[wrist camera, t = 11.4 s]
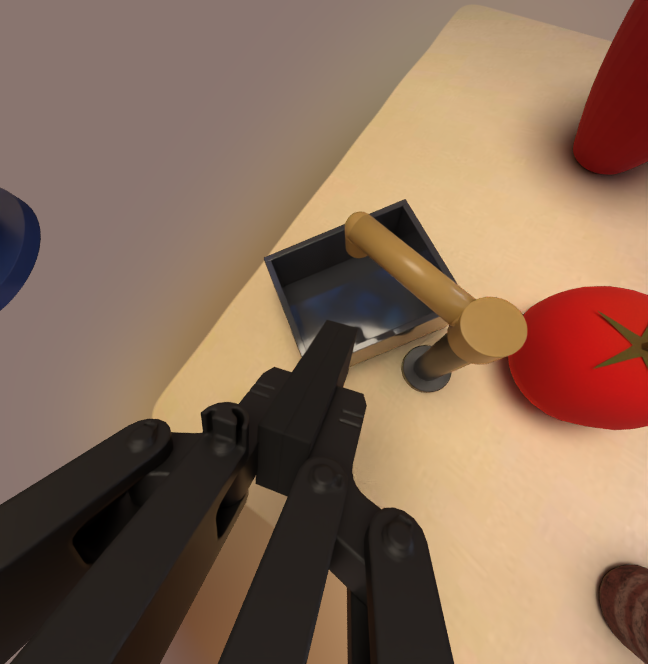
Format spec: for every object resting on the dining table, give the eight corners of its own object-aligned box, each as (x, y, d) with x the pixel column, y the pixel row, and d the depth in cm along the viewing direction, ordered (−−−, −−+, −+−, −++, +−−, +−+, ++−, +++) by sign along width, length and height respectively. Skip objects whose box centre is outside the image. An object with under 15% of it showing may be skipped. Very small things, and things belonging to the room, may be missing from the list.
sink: (280, 287, 35) (263, 257, 28) (395, 238, 35) (405, 198, 28) (317, 380, 31) (307, 372, 25) (445, 326, 31) (469, 303, 25)
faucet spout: (510, 341, 18) (541, 326, 15) (474, 378, 18) (499, 370, 15) (365, 224, 22) (367, 192, 18) (333, 253, 21) (329, 226, 18)
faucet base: (393, 357, 31) (420, 319, 18) (434, 340, 31) (488, 291, 19) (414, 399, 29) (458, 389, 17) (457, 381, 30) (531, 358, 17)
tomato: (469, 384, 29) (528, 369, 19) (516, 293, 31) (592, 237, 21) (592, 453, 27) (736, 477, 17) (635, 348, 29) (785, 313, 19)
